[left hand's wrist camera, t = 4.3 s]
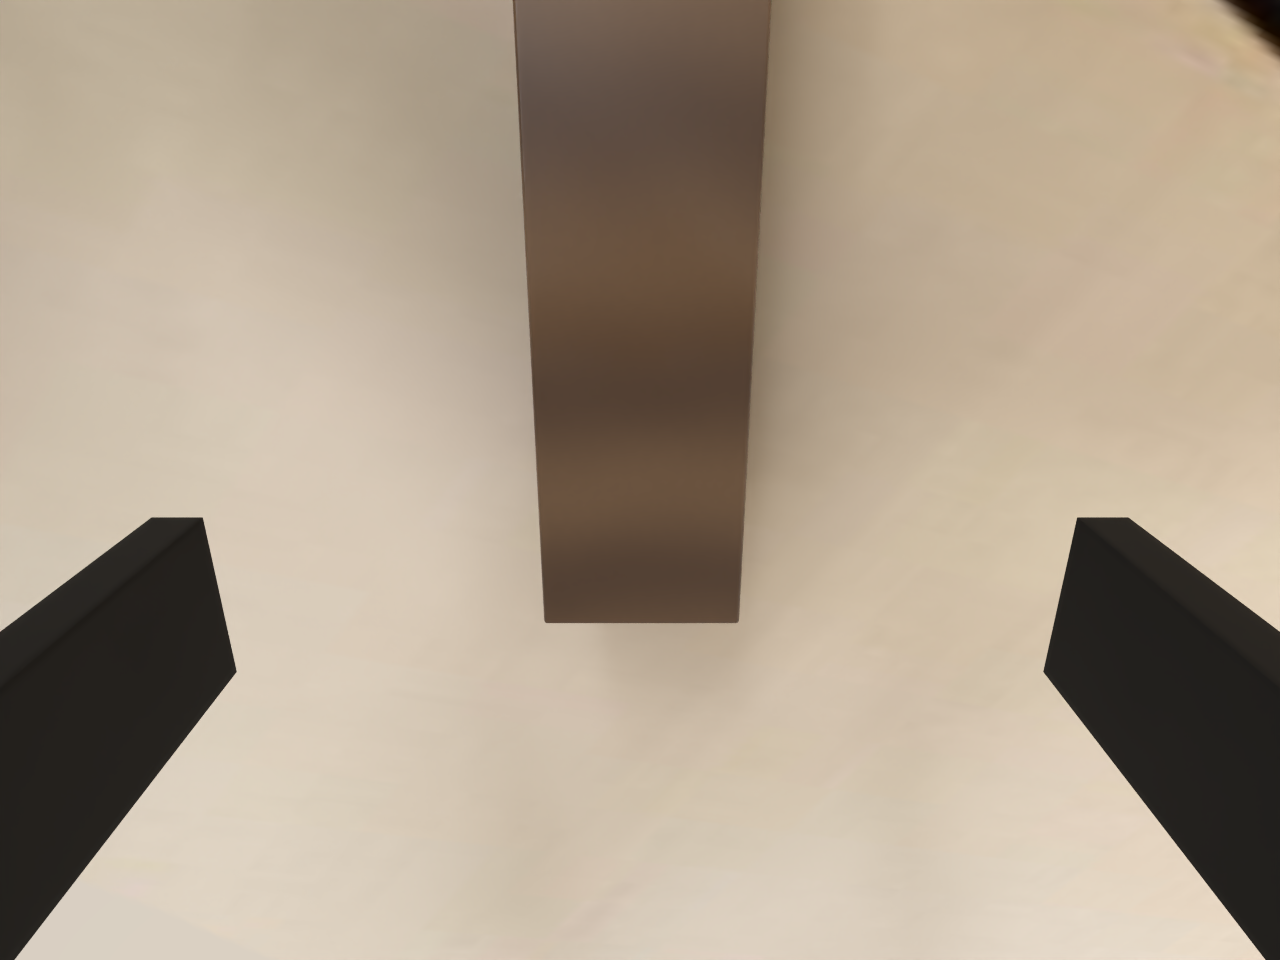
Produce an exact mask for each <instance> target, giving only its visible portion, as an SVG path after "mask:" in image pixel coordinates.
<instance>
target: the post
mask: <svg viewBox="0 0 1280 960" xmlns="http://www.w3.org/2000/svg"><path fill="white" fill-rule="evenodd" d="M513 13H514V33H515V53H516V72H517V92H518V112H519V131H520V151H521V171H522V190H523V210H524V230H525V249H526V269H527V289H528V308H529V328H530V348H531V367H532V387H533V407H534V426H535V446H536V466H537V486H538V505H539V525H540V545H541V564H542V584H543V604H544V620H545V622H546V623H738V621H739V608H740V589H741V570H742V551H743V532H744V513H745V494H746V475H747V456H748V436H749V417H750V398H751V379H752V360H753V341H754V322H755V303H756V284H757V265H758V246H759V227H760V208H761V188H762V169H763V150H764V131H765V112H766V93H767V74H768V55H769V36H770V17H771V0H513Z"/></svg>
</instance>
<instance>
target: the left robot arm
mask: <svg viewBox="0 0 1280 960" xmlns="http://www.w3.org/2000/svg"><path fill="white" fill-rule="evenodd" d="M236 672H237V671H236V667H235V662H234V658H233V653H232V649H231V644H230V639H229V635H228V630H227V626H226V621H225V617H224V612H223V608H222V603H221V599H220V594H219V589H218V585H217V580H216V576H215V571H214V567H213V562H212V558H211V553H210V549H209V544H208V539H207V535H206V530H205V526H204V521H203V518H150V519H149V520H148V521H146V522H145V523H144V524H142V525H141V526H140V527H139V528H137V529H136V530H135V531H133V532H132V533H131V534H129V535H128V536H127V537H125V538H124V539H123V540H121V541H120V542H119V543H117V544H116V545H115V546H113V547H112V548H111V549H109V550H108V551H107V552H105V553H104V554H103V555H101V556H100V557H99V558H97V559H96V560H95V561H93V562H92V563H91V564H89V565H88V566H87V567H85V568H84V569H83V570H82V571H80V572H79V573H78V574H76V575H75V576H74V577H72V578H71V579H70V580H68V581H67V582H66V583H64V584H63V585H62V586H60V587H59V588H58V589H56V590H55V591H54V592H52V593H51V594H50V595H48V596H47V597H46V598H44V599H43V600H42V601H40V602H39V603H38V604H36V605H35V606H34V607H32V608H31V609H30V610H28V611H27V612H26V613H25V614H23V615H22V616H21V617H19V618H18V619H17V620H15V621H14V622H13V623H11V624H10V625H9V626H7V627H6V628H5V629H3V630H2V631H1V632H0V960H15V958H16V957H17V956H18V954H19V953H20V952H21V950H22V949H23V948H24V947H25V945H26V944H27V943H28V941H29V940H30V939H31V938H32V936H33V935H34V934H35V932H36V931H37V930H38V928H39V927H40V926H41V925H42V923H43V922H44V921H45V919H46V918H47V917H48V916H49V914H50V913H51V912H52V910H53V909H54V908H55V906H56V905H57V904H58V902H59V901H60V900H61V899H62V897H63V896H64V895H65V893H66V892H67V891H68V890H69V888H70V887H71V886H72V884H73V883H74V882H75V881H76V879H77V878H78V877H79V875H80V874H81V873H82V871H83V870H84V869H85V868H86V866H87V865H88V864H89V862H90V861H91V860H92V859H93V857H94V856H95V855H96V853H97V852H98V851H99V849H100V848H101V847H102V846H103V844H104V843H105V842H106V840H107V839H108V838H109V836H110V835H111V834H112V833H113V831H114V830H115V829H116V827H117V826H118V825H119V824H120V822H121V821H122V820H123V818H124V817H125V816H126V814H127V813H128V812H129V811H130V809H131V808H132V807H133V805H134V804H135V803H136V801H137V800H138V799H139V798H140V796H141V795H142V794H143V792H144V791H145V790H146V789H147V787H148V786H149V785H150V783H151V782H152V781H153V779H154V778H155V777H156V776H157V774H158V773H159V772H160V770H161V769H162V768H163V767H164V765H165V764H166V763H167V761H168V760H169V759H170V757H171V756H172V755H173V754H174V752H175V751H176V750H177V748H178V747H179V746H180V744H181V743H182V742H183V741H184V739H185V738H186V737H187V735H188V734H189V733H190V732H191V730H192V729H193V728H194V726H195V725H196V724H197V722H198V721H199V720H200V719H201V717H202V716H203V715H204V713H205V712H206V711H207V710H208V708H209V707H210V706H211V704H212V703H213V702H214V700H215V699H216V698H217V697H218V695H219V694H220V693H221V691H222V690H223V689H224V687H225V686H226V685H227V684H228V682H229V681H230V680H231V678H232V677H233V676H234V675H235V673H236ZM1043 672H1044V673H1045V675H1046V676H1047V677H1048V678H1049V680H1050V681H1051V682H1052V684H1053V685H1054V686H1055V687H1056V689H1057V690H1058V691H1059V693H1060V694H1061V695H1062V697H1063V698H1064V699H1065V700H1066V702H1067V703H1068V704H1069V706H1070V707H1071V708H1072V710H1073V711H1074V712H1075V713H1076V715H1077V716H1078V717H1079V719H1080V720H1081V721H1082V722H1083V724H1084V725H1085V726H1086V728H1087V729H1088V730H1089V732H1090V733H1091V734H1092V735H1093V737H1094V738H1095V739H1096V741H1097V742H1098V743H1099V744H1100V746H1101V747H1102V748H1103V750H1104V751H1105V752H1106V754H1107V755H1108V756H1109V757H1110V759H1111V760H1112V761H1113V763H1114V764H1115V765H1116V767H1117V768H1118V769H1119V770H1120V772H1121V773H1122V774H1123V776H1124V777H1125V778H1126V779H1127V781H1128V782H1129V783H1130V785H1131V786H1132V787H1133V789H1134V790H1135V791H1136V792H1137V794H1138V795H1139V796H1140V798H1141V799H1142V800H1143V802H1144V803H1145V804H1146V805H1147V807H1148V808H1149V809H1150V811H1151V812H1152V813H1153V814H1154V816H1155V817H1156V818H1157V820H1158V821H1159V822H1160V824H1161V825H1162V826H1163V827H1164V829H1165V830H1166V831H1167V833H1168V834H1169V835H1170V836H1171V838H1172V839H1173V840H1174V842H1175V843H1176V844H1177V846H1178V847H1179V848H1180V849H1181V851H1182V852H1183V853H1184V855H1185V856H1186V857H1187V859H1188V860H1189V861H1190V862H1191V864H1192V865H1193V866H1194V868H1195V869H1196V870H1197V871H1198V873H1199V874H1200V875H1201V877H1202V878H1203V879H1204V881H1205V882H1206V883H1207V884H1208V886H1209V887H1210V888H1211V890H1212V891H1213V892H1214V893H1215V895H1216V896H1217V897H1218V899H1219V900H1220V901H1221V903H1222V904H1223V905H1224V906H1225V908H1226V909H1227V910H1228V912H1229V913H1230V914H1231V916H1232V917H1233V918H1234V919H1235V921H1236V922H1237V923H1238V925H1239V926H1240V927H1241V928H1242V930H1243V931H1244V932H1245V934H1246V935H1247V936H1248V938H1249V939H1250V940H1251V941H1252V943H1253V944H1254V945H1255V947H1256V948H1257V949H1258V950H1259V952H1260V953H1261V954H1262V956H1263V957H1264V958H1265V960H1280V632H1279V631H1278V630H1277V629H1275V628H1274V627H1273V626H1271V625H1270V624H1269V623H1267V622H1266V621H1265V620H1263V619H1262V618H1261V617H1259V616H1258V615H1257V614H1255V613H1254V612H1253V611H1252V610H1250V609H1249V608H1248V607H1246V606H1245V605H1244V604H1242V603H1241V602H1240V601H1238V600H1237V599H1236V598H1234V597H1233V596H1232V595H1230V594H1229V593H1228V592H1226V591H1225V590H1224V589H1222V588H1221V587H1220V586H1218V585H1217V584H1216V583H1214V582H1213V581H1212V580H1210V579H1209V578H1208V577H1206V576H1205V575H1204V574H1202V573H1201V572H1200V571H1198V570H1197V569H1196V568H1195V567H1193V566H1192V565H1191V564H1189V563H1188V562H1187V561H1185V560H1184V559H1183V558H1181V557H1180V556H1179V555H1177V554H1176V553H1175V552H1173V551H1172V550H1171V549H1169V548H1168V547H1167V546H1165V545H1164V544H1163V543H1161V542H1160V541H1159V540H1157V539H1156V538H1155V537H1153V536H1152V535H1151V534H1149V533H1148V532H1147V531H1145V530H1144V529H1143V528H1141V527H1140V526H1139V525H1138V524H1136V523H1135V522H1134V521H1132V520H1131V519H1130V518H1077V521H1076V526H1075V530H1074V535H1073V539H1072V544H1071V549H1070V553H1069V558H1068V562H1067V567H1066V571H1065V576H1064V580H1063V585H1062V589H1061V594H1060V599H1059V603H1058V608H1057V612H1056V617H1055V621H1054V626H1053V630H1052V635H1051V639H1050V644H1049V649H1048V653H1047V658H1046V662H1045V667H1044V671H1043Z"/></svg>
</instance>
